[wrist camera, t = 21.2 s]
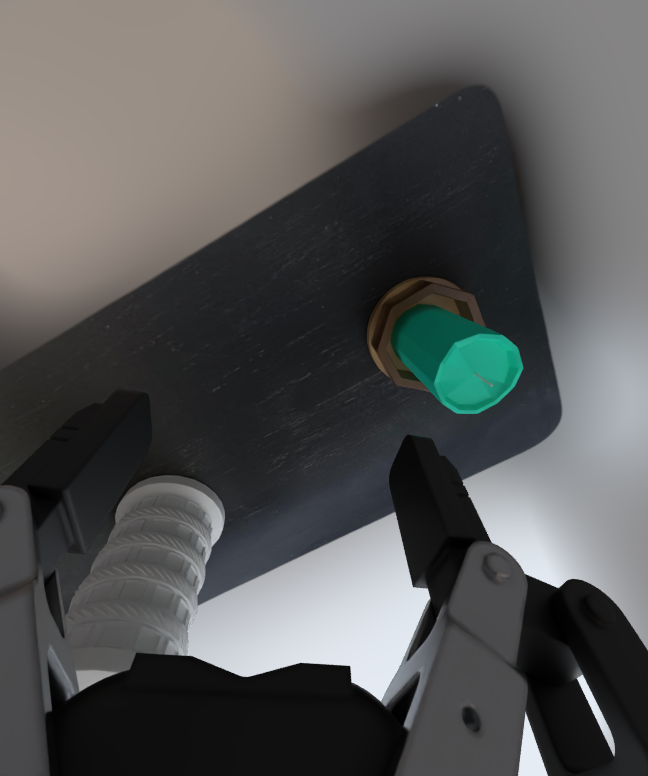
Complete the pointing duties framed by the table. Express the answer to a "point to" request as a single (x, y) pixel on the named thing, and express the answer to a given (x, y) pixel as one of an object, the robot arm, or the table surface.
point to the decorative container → (144, 577)
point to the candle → (456, 358)
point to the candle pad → (402, 300)
